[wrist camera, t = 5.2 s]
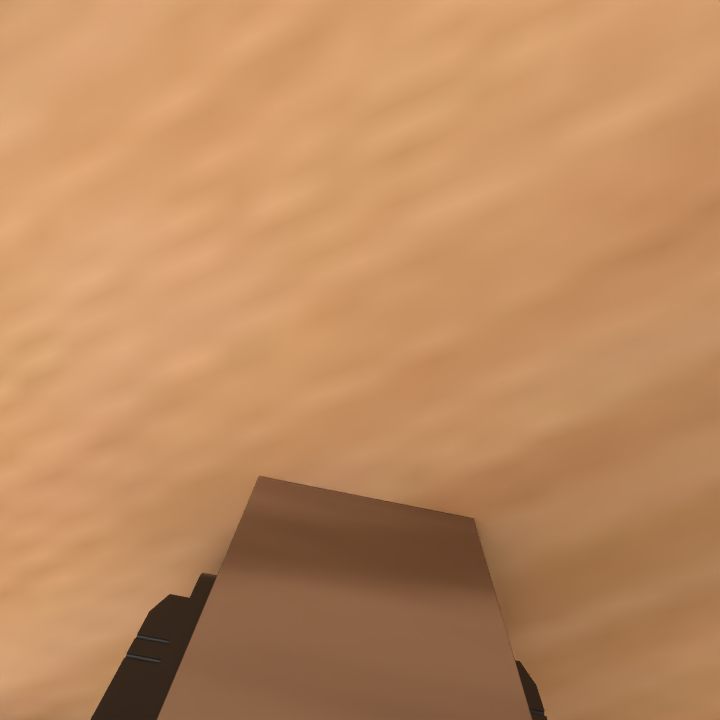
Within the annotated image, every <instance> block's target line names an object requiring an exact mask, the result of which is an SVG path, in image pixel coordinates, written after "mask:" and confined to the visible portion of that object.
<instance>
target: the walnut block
mask: <svg viewBox="0 0 720 720" xmlns="http://www.w3.org/2000/svg"><path fill="white" fill-rule="evenodd" d="M157 720H532V718H531V714H530V711H529V707H528V704H527V701H526V697H525V694H524V690H523V687H522V683H521V680H520V677H519V673H518V670H517V666H516V663H515V659H514V656H513V653H512V649H511V646H510V642H509V639H508V635H507V632H506V629H505V625H504V622H503V618H502V615H501V612H500V608H499V605H498V601H497V598H496V594H495V591H494V588H493V584H492V581H491V577H490V574H489V570H488V567H487V564H486V560H485V557H484V553H483V550H482V546H481V543H480V540H479V536H478V533H477V529H476V526H475V522H474V519H473V518H468V517H463V516H457V515H452V514H447V513H442V512H437V511H432V510H427V509H422V508H417V507H412V506H407V505H402V504H397V503H392V502H387V501H382V500H376V499H371V498H366V497H361V496H356V495H351V494H346V493H341V492H336V491H331V490H326V489H321V488H316V487H311V486H306V485H300V484H295V483H290V482H285V481H280V480H275V479H270V478H265V477H260V476H259V478H258V480H257V482H256V485H255V487H254V489H253V492H252V494H251V497H250V499H249V501H248V504H247V506H246V509H245V511H244V513H243V516H242V518H241V520H240V523H239V525H238V528H237V530H236V532H235V535H234V537H233V540H232V542H231V544H230V547H229V549H228V551H227V554H226V556H225V559H224V561H223V563H222V566H221V568H220V571H219V573H218V575H217V578H216V580H215V582H214V585H213V587H212V590H211V592H210V594H209V597H208V599H207V602H206V604H205V606H204V609H203V611H202V614H201V616H200V618H199V621H198V623H197V625H196V628H195V630H194V633H193V635H192V637H191V640H190V642H189V645H188V647H187V649H186V652H185V654H184V656H183V659H182V661H181V664H180V666H179V668H178V671H177V673H176V676H175V678H174V680H173V683H172V685H171V687H170V690H169V692H168V695H167V697H166V699H165V702H164V704H163V707H162V709H161V711H160V714H159V716H158V718H157Z"/></svg>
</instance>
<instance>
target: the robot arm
mask: <svg viewBox="0 0 720 720" xmlns="http://www.w3.org/2000/svg"><path fill="white" fill-rule="evenodd" d="M216 578H217V576H216V575H211V574H206V573H202V574H201V575H200V577H199V579H198V581H197V583H196V585H195V588H194V590H193V592H192V594H191V596H190V598H187V597H182V596H177V595H171V594H170V595H168V596H167V597H166V598H165V599H164V600H162V601H161V602H160V603H159V604H158V605H157V606H155V607H154V608H153V609H152V610H151V611H150V612H149V613H148V615H147V617H146V619H145V621H144V623H143V624H142V626H141V628H140V630H139V632H138V634H137V637H136V639H134V641H133V643H132V645H131V647H130V648H129V650H128V652H127V655H126V658H124V659H123V661H122V663H121V665H120V667H119V669H118V670H117V672H116V674H115V676H114V678H113V680H112V681H111V683H110V685H109V687H108V689H107V691H106V692H105V694H104V696H103V698H102V700H101V702H100V703H99V705H98V707H97V709H96V711H95V713H94V714H93V716H92V718H91V720H157V718H158V716H159V714H160V711H161V709H162V707H163V704H164V702H165V699H166V697H167V695H168V692H169V690H170V687H171V685H172V683H173V680H174V678H175V676H176V673H177V671H178V668H179V666H180V664H181V661H182V659H183V656H184V654H185V652H186V649H187V647H188V645H189V642H190V640H191V637H192V635H193V633H194V630H195V628H196V625H197V623H198V621H199V618H200V616H201V614H202V611H203V609H204V606H205V604H206V602H207V599H208V597H209V594H210V592H211V590H212V587H213V585H214V582H215V580H216ZM515 663H516V666H517V670H518V673H519V677H520V680H521V683H522V687H523V690H524V694H525V697H526V701H527V704H528V707H529V711H530V714H531V718H532V720H547V717H546V716H544V708H543V705H542V702H541V699H540V696H539V692H538V689H537V686H536V684H535V683H534V681H533V680H532V678H531V677H530V676H529V674H528V673H527V671H526V670H525V668H524V667H523V665H522V664H521V663H520V661H515Z"/></svg>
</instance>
